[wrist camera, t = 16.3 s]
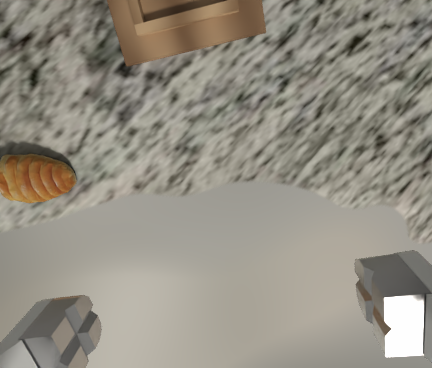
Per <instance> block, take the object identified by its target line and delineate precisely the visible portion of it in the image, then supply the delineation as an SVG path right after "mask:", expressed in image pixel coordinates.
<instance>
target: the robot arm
mask: <svg viewBox="0 0 432 368" xmlns="http://www.w3.org/2000/svg"><path fill="white" fill-rule="evenodd" d="M355 272H356V274H357V276H358V278H359V281H358V282H357V284H356V291H357V297H358V302H359V305H360V308H361V310H362V313H363V315H364V317H365V319H366V320H367V321H369V322H370V323H372V324H373V331H374V336H375V338H376V339H377V341H378V343H379V345H380V347H381V349H382V351H383V352H384V354H385V356H386V357H395V356H414V355H424V357H425V358H426V359H428V360H429V361H430V362H432V265H431V264H430V263H429V262H428V261H427V260H426V259H425V258H424V257H423V256H421V255H420V254H419V253H418V252H417V251H414V250H412V251H405V252H399V253H394V254H390V255H383V256H375V257H368V258H361V259H355ZM92 306H93V304H92V302H91V300H90V298H89V297H88V296H85V295H79V296H70V297H60V298H53V299H45V300H41V301H39V302H37V303H36V304H35V305H34V306H33V307H32V308H31V309H30V311H28V313H27V314H26V315H25V316H24V317H23V318H22V320H20V322H19V323H18V324H17V325H16V326H15V327H14V328H13V330H11V332H10V333H9V334H8V335H7V336H6V337H5V338H4V339H3V341H2V342H0V368H85V367H86V366H87V364H88V357H87V355H88V354H90V353H91V352H92V351H93V350H94V349H95V348H96V346H97V344H98V342H99V340H100V336H101V330H102V329H101V322H100V320H99V317H98V315H96V314H95V313H93V312H92V311H91V309H92Z"/></svg>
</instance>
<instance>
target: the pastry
mask: <svg viewBox="0 0 432 368" xmlns="http://www.w3.org/2000/svg"><path fill="white" fill-rule="evenodd" d="M76 182H77V181H76V175H75V173H74V171H73V170H72V168H71V167H70V166H69V165H68V164H66V163H64V162H62V161H58V160H54V159H52V158H50V157H46V156H44V155H37V154H27V155H22V154H20V155H9V154H6V155H4V156H3V157H2V158H1V161H0V192H1V194H2V195H3V196H4V197H5V198H7V199H9V200H11V201H12V200H16V201H21V202H26V203H34V202H45V201H47V200H50V199H52V198H55V197H57V196H59V195H61V194H63V193H67V192H68V191H69V190H70V189H71V188H72V187H73V186H74V185H75V184H76Z"/></svg>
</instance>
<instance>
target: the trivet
mask: <svg viewBox="0 0 432 368" xmlns="http://www.w3.org/2000/svg"><path fill="white" fill-rule="evenodd" d="M107 2H108V5H109V9H110V12H111V16H112V19H113V22H114V26H115V29H116V33H117V36H118V39H119V43H120V46H121V50H122V53H123V56H124V60H125V63H126V66H132V65H136V64H140V63H144V62H148V61H152V60H157V59H161V58H165V57H169V56H173V55H177V54H181V53H185V52H189V51H193V50H198V49H202V48H206V47H210V46H214V45H218V44H222V43H226V42H230V41H234V40H238V39H243V38H247V37H251V36H255V35H259V34H263V33H266V28H265V21H264V14H263V6H262V0H107Z"/></svg>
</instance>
